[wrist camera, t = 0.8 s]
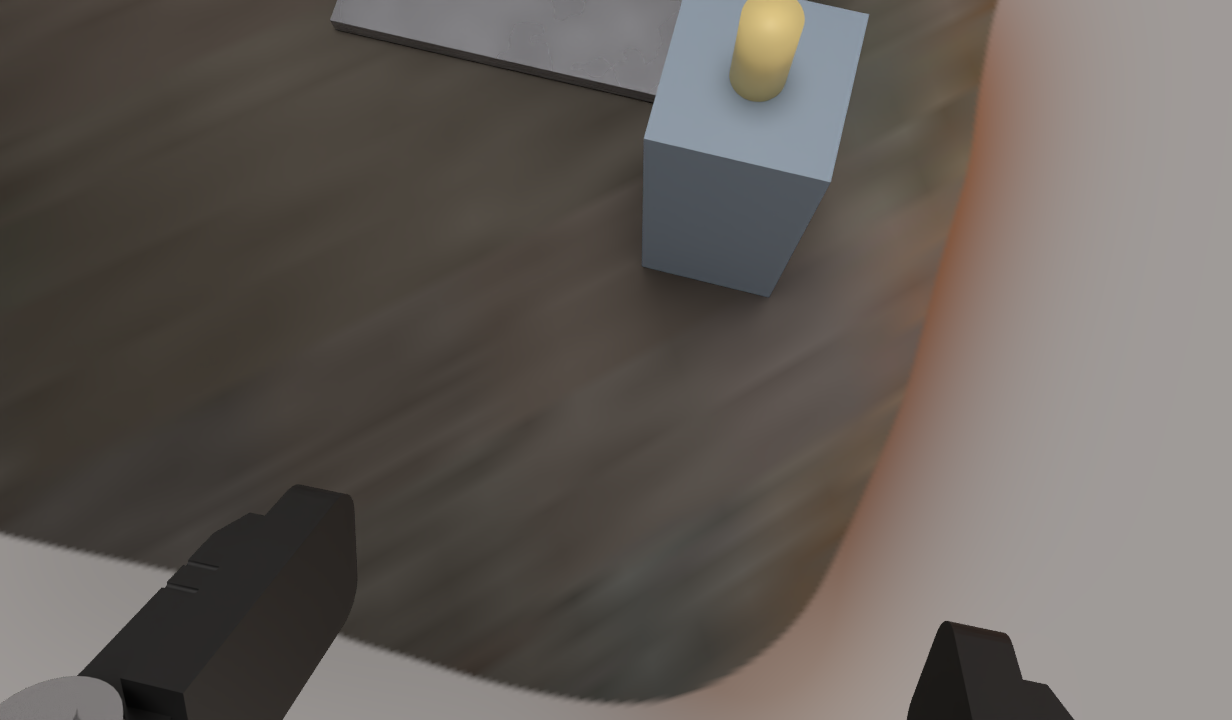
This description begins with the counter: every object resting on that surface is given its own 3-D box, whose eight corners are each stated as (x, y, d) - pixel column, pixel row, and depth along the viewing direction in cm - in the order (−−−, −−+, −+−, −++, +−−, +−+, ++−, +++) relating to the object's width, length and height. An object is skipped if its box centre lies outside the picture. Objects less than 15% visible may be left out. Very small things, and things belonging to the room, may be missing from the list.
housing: (641, 266, 31) (644, 88, 19) (673, 149, 32) (695, -93, 20) (769, 297, 31) (854, 136, 19) (797, 178, 32) (897, -50, 19)
